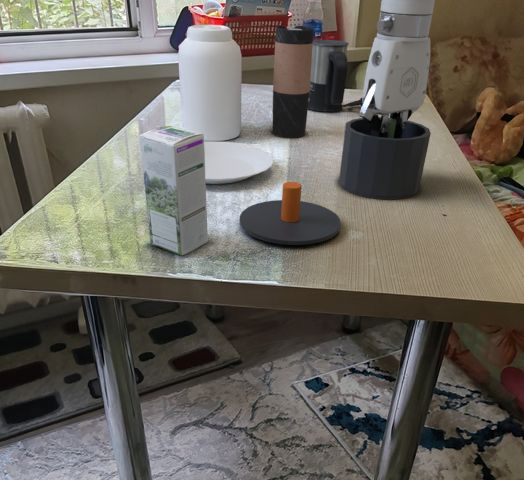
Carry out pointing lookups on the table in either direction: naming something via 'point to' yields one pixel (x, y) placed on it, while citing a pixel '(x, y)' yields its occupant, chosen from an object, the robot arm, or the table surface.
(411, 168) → the bowl
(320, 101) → the milk frother
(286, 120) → the travel mug
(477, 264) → the table surface
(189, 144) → the syrup box
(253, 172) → the plate
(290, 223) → the lid
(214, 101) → the white jar
